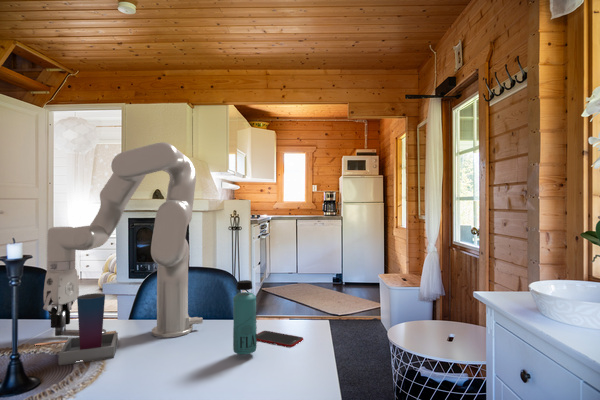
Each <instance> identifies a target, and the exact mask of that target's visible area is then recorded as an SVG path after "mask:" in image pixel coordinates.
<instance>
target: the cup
mask: <svg viewBox="0 0 600 400" xmlns="http://www.w3.org/2000/svg"><path fill="white" fill-rule="evenodd" d="M105 300H106V294H105V293H99V292H98V293H97V292H96V293H86V294H82V295H79V296H78V297H77V299H76V302H77V318H78V319H77V320H78V330H79V336H78V337H79V339H80V350H82V349H90V348H98V347H101V343H102V330H103V329H104V327H103V326H104V316H105V315H104V313H105V303H106V301H105Z"/></svg>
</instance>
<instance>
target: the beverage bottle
mask: <svg viewBox="0 0 600 400" xmlns="http://www.w3.org/2000/svg"><path fill="white" fill-rule="evenodd" d="M236 289H237V290H238V291H242V292H238V293H236V294H235V295H234V296H233V297H232V298H233V299H232V301H233V302H232V303H233V306H232V307H233V313H232V315H233V327H232V328H233V329H232V330H233V331H232V337H233V339H232V341H233V342H232V344H233V345H232V347H233V348H232V350H233V352H234V353H235V354H237V355H249V354H253V353H255V352H256V350H257V346H258V344H257V343H258V341H257V337H256V334H257V330H258V328H257V326H258V325H257V319H258V318H257V296H256V295H255V294H254V293H253V292H249V291H250V290H253V281H252V280H251V279H249V280H247V279H246V280H244V279H243V280H238V281H237V283H236ZM243 291H244V292H243ZM247 291H248V292H247Z"/></svg>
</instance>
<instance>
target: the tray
mask: <svg viewBox="0 0 600 400" xmlns="http://www.w3.org/2000/svg"><path fill="white" fill-rule="evenodd" d="M118 333H119V332H116V333H109V334H102V343H101V347H98V348H90V349H82V350H80V339H79V336H72V337H68V339H67V341H66V343H63V346H62V348H61V349H60V350H59V352H58V366H63V365H70V364H71V365H72V364H76V363H75V362H76V361H80V360H83V361H85V362H84V363H86V362H93V361H92V360H95V361H101V360H100V359H102V360H107V359H109V360H110V359H114V357H115V355H116V350H117V347H118V343H119V340H118V339H119V338H118Z"/></svg>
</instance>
